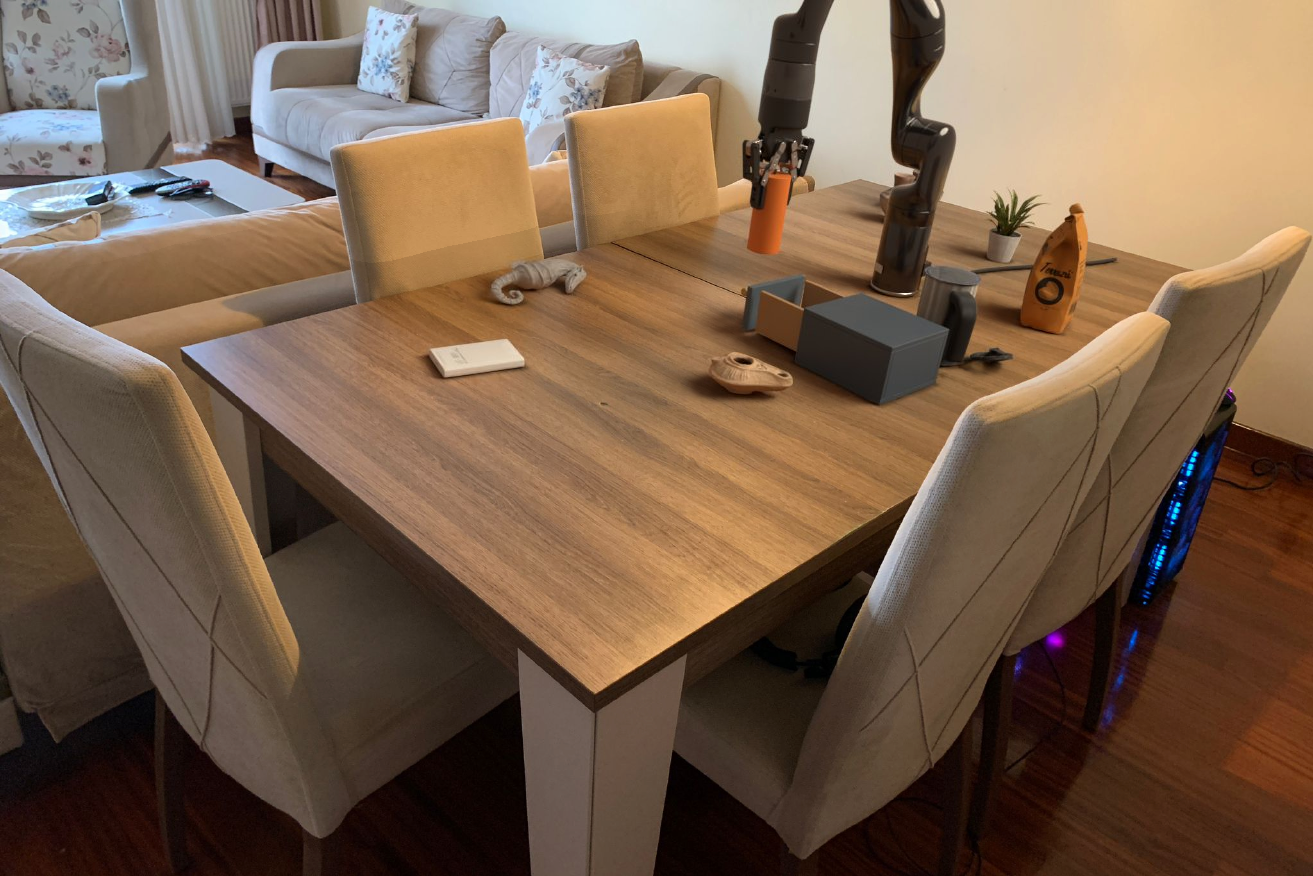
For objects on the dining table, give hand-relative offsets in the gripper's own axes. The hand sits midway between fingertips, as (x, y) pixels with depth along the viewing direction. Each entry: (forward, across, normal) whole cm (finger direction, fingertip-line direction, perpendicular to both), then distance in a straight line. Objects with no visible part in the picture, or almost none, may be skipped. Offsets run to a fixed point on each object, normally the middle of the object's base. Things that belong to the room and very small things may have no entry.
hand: (769, 206), depth 143 cm
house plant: (+23, +89, +5) cm, 92 cm away
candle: (+7, 0, 0) cm, 7 cm away
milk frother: (+24, +28, -23) cm, 43 cm away
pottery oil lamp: (+24, -13, -13) cm, 30 cm away
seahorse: (+24, -18, +38) cm, 48 cm away
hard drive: (+24, -43, +16) cm, 52 cm away
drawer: (+23, +9, -2) cm, 25 cm away
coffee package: (+23, +60, -21) cm, 68 cm away
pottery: (+23, +96, +38) cm, 106 cm away
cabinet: (+24, +9, -18) cm, 31 cm away
